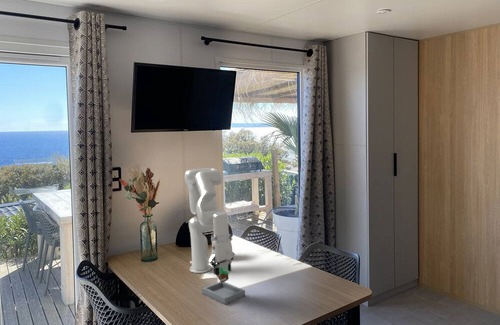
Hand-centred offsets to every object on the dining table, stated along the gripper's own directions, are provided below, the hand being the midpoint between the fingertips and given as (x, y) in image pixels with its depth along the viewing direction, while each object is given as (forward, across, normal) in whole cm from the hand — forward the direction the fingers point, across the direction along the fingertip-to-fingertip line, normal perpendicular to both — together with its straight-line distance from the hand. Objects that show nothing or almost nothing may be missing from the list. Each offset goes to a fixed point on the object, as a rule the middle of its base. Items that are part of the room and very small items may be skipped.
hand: (222, 272), depth 202 cm
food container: (+3, +1, 0) cm, 3 cm away
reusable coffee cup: (+12, +35, +44) cm, 57 cm away
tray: (+12, 0, 0) cm, 12 cm away
